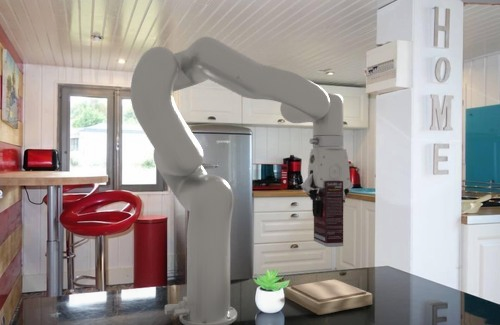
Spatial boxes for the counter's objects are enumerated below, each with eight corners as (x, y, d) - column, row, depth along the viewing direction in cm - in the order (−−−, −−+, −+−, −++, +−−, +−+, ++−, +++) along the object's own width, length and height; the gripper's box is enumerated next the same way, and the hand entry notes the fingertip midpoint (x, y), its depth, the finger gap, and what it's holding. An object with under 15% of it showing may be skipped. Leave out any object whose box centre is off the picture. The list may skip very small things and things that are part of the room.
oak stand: (318, 314, 92) (318, 301, 92) (285, 297, 104) (285, 285, 104) (372, 304, 99) (372, 291, 99) (335, 288, 111) (335, 277, 112)
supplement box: (344, 246, 98) (344, 180, 98) (325, 247, 97) (325, 180, 97) (330, 240, 107) (330, 179, 107) (312, 240, 106) (312, 179, 106)
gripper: (308, 142, 95) (308, 219, 95) (364, 143, 103) (364, 215, 102) (290, 143, 102) (290, 216, 101) (345, 145, 109) (345, 212, 109)
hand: (328, 215), depth 102 cm, fingers closed on supplement box, 5 cm apart
